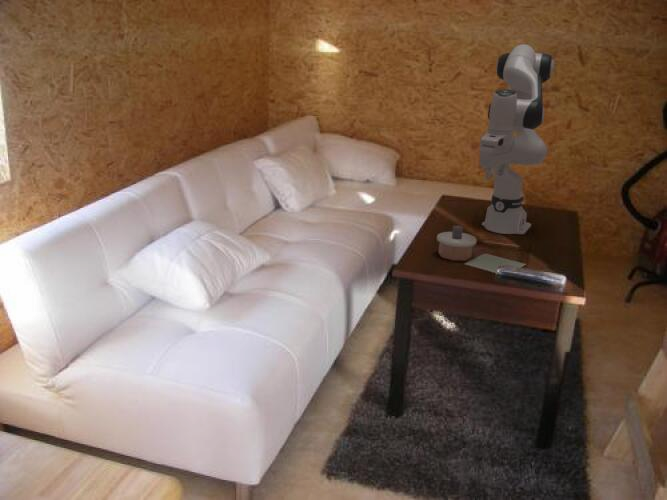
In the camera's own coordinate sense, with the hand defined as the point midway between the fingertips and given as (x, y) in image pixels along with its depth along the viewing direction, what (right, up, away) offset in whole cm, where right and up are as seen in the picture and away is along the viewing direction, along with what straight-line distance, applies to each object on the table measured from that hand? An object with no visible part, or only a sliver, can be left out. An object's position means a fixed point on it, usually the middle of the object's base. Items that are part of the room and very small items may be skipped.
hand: (494, 177), depth 228 cm
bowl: (-13, -28, +6) cm, 32 cm away
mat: (0, -31, -1) cm, 31 cm away
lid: (-13, -22, +4) cm, 26 cm away
